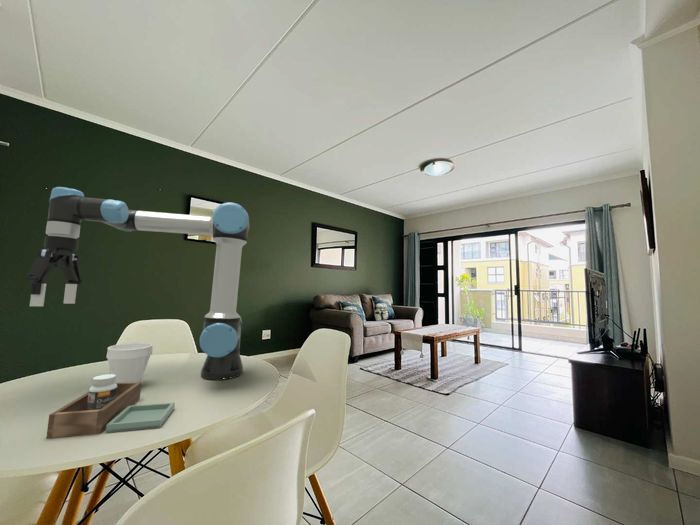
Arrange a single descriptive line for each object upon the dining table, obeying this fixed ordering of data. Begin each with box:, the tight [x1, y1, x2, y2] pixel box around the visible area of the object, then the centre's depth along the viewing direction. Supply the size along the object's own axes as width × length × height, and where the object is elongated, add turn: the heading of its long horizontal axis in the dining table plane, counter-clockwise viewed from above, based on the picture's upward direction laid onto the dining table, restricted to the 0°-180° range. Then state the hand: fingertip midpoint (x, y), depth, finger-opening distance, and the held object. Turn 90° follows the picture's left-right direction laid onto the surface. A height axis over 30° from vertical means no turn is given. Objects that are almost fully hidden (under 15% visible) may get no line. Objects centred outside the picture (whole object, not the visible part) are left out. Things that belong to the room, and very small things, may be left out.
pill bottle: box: [86, 373, 117, 410], centre depth 74 cm, size 6×6×10 cm
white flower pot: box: [105, 342, 154, 383], centre depth 95 cm, size 12×12×14 cm
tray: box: [105, 402, 176, 434], centre depth 72 cm, size 11×11×2 cm
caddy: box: [45, 381, 142, 439], centre depth 74 cm, size 10×21×5 cm, turn 16°
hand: (54, 305), depth 87 cm, fingers open, 13 cm apart
